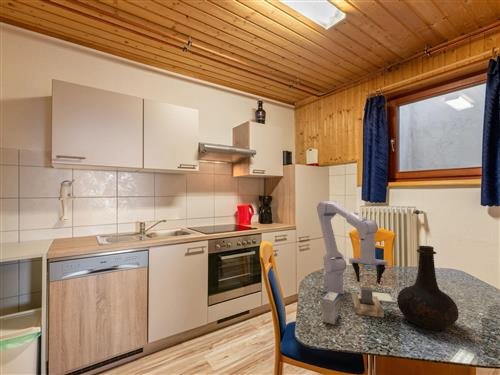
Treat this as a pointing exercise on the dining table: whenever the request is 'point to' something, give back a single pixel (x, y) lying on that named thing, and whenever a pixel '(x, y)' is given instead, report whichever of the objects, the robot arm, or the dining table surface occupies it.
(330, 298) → the medicine box
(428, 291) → the glass bottle
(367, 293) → the square peg
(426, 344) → the dining table surface
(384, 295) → the pad
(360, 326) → the dining table surface
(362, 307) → the rail plate
